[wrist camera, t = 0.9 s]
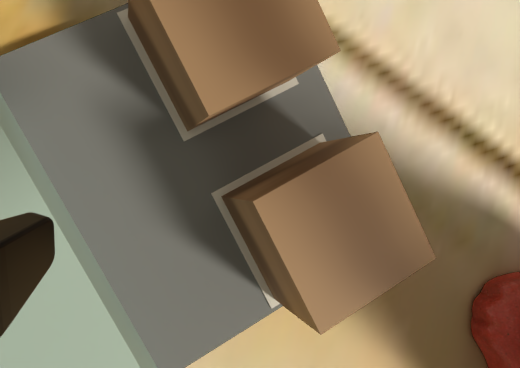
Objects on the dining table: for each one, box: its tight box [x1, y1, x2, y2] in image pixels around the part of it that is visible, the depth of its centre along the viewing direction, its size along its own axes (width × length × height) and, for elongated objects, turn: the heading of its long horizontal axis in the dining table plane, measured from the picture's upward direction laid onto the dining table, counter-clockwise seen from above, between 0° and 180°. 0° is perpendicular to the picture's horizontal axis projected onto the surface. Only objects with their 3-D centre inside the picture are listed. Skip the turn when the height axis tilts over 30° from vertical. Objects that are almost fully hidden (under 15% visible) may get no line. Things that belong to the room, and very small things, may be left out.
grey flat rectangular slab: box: [0, 3, 351, 368], centre depth 20 cm, size 16×14×1 cm
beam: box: [0, 93, 157, 368], centre depth 16 cm, size 14×4×4 cm, turn 28°
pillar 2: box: [221, 132, 436, 335], centre depth 19 cm, size 5×5×5 cm
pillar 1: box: [128, 0, 341, 131], centre depth 18 cm, size 5×5×5 cm
